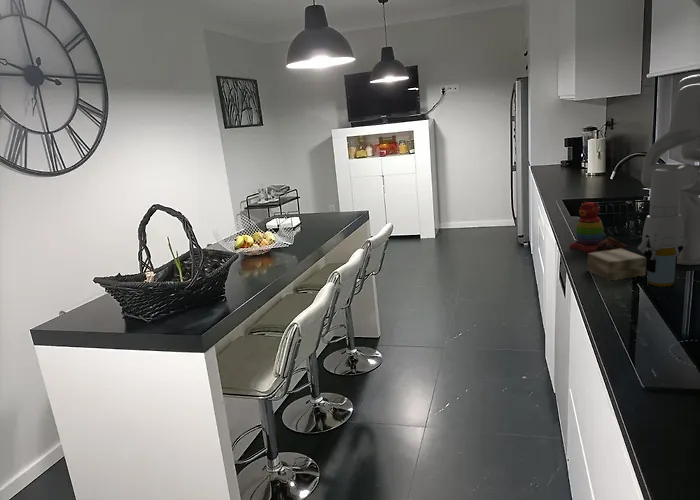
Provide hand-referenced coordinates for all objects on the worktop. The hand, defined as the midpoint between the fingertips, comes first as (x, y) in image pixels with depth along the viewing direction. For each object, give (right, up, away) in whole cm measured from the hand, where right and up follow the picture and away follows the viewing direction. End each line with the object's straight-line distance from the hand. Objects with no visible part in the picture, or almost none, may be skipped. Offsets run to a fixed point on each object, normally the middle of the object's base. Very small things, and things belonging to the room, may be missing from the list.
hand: (661, 269), depth 157 cm
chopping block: (-7, -2, +14) cm, 16 cm away
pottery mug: (-1, +3, +30) cm, 30 cm away
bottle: (0, -5, +1) cm, 5 cm away
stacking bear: (-2, +6, +43) cm, 43 cm away
